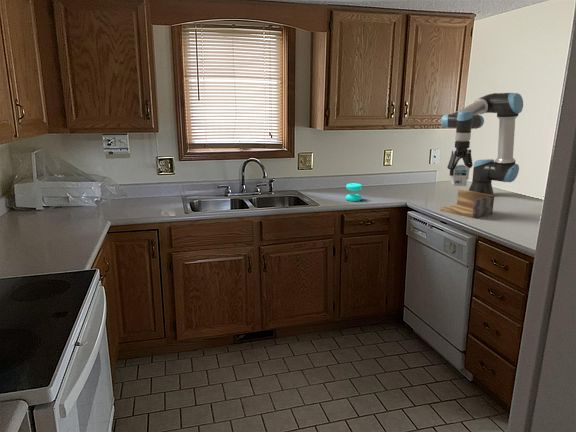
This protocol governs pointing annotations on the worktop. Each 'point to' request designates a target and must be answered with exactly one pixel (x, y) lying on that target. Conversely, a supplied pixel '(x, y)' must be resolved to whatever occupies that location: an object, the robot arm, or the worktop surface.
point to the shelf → (471, 204)
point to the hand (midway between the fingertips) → (458, 180)
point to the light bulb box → (460, 175)
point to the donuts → (354, 188)
